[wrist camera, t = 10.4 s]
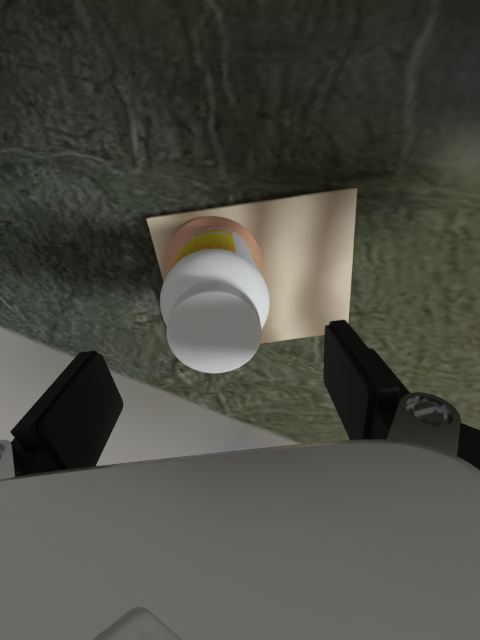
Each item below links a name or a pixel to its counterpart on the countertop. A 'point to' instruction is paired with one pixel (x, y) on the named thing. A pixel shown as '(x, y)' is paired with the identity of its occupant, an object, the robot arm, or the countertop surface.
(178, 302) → the supplement bottle
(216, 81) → the countertop surface
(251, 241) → the seat board
